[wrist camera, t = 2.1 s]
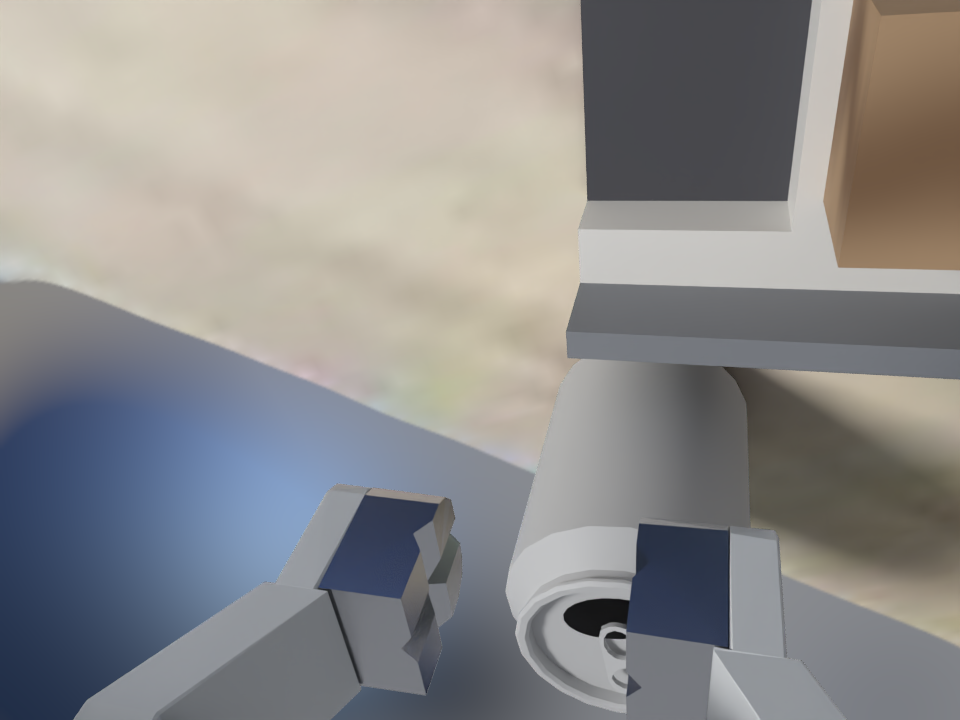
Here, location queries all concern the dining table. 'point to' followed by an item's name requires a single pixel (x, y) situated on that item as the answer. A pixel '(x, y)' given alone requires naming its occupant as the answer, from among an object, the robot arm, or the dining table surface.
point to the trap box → (732, 200)
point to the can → (618, 507)
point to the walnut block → (897, 138)
